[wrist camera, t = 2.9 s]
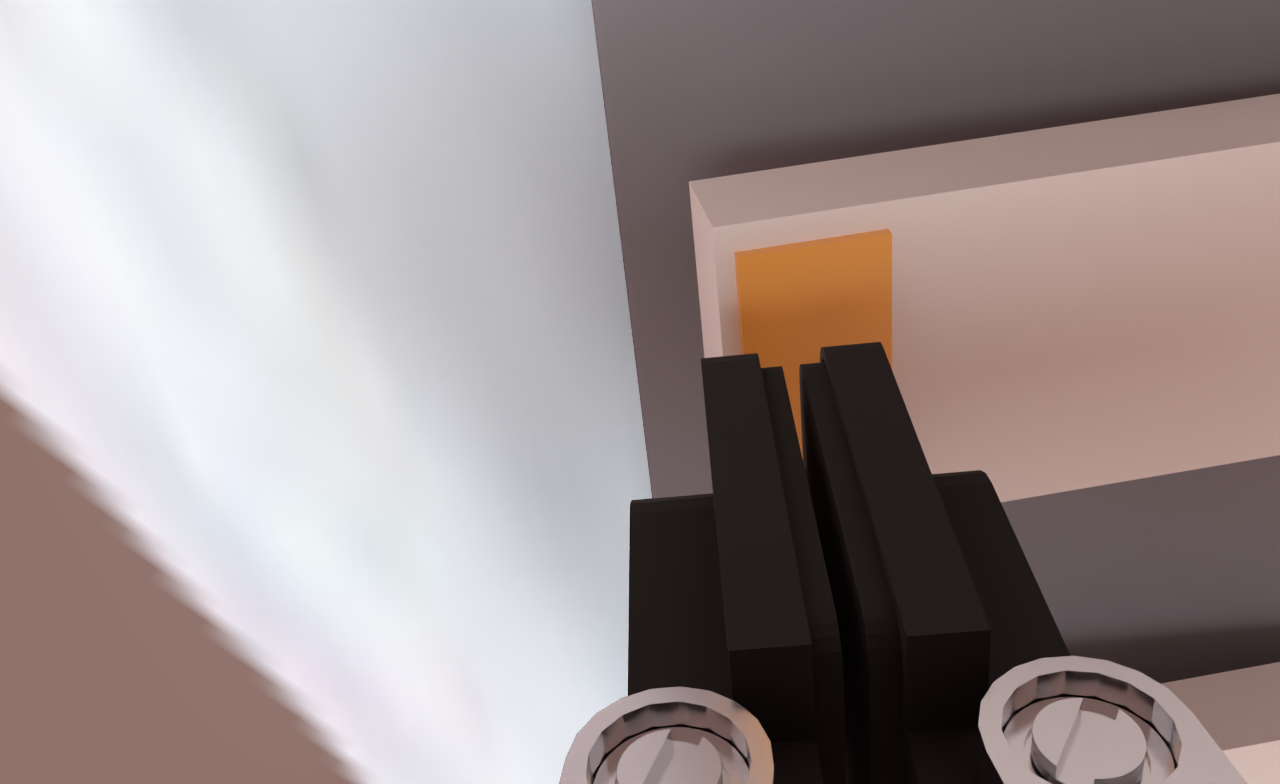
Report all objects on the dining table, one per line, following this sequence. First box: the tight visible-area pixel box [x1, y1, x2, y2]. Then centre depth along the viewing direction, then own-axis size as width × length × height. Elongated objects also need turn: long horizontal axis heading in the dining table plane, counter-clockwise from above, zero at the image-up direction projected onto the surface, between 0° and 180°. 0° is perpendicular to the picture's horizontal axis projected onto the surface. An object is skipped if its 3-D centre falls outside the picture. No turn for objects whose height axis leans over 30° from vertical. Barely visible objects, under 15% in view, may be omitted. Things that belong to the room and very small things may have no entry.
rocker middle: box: [689, 94, 1280, 502], centre depth 14 cm, size 10×4×2 cm, turn 96°
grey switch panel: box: [592, 0, 1280, 684], centre depth 16 cm, size 12×32×4 cm, turn 6°
